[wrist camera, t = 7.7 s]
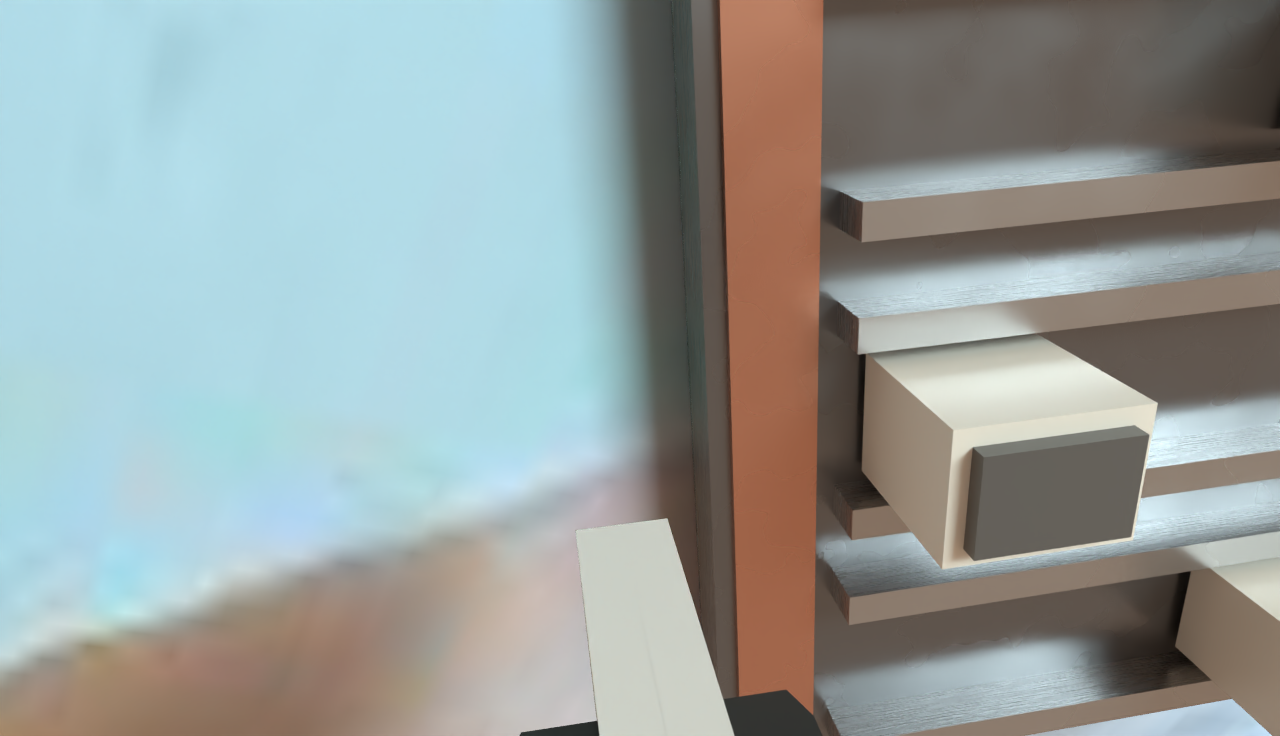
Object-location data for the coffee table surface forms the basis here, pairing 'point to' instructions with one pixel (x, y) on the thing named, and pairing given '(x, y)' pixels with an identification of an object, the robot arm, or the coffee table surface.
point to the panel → (972, 332)
